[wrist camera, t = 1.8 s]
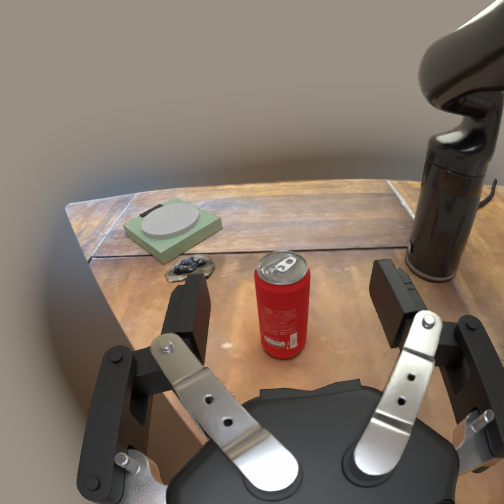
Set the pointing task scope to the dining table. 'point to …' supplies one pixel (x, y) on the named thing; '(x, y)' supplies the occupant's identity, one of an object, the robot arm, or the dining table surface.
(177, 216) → the scale
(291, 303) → the beverage can
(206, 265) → the geode
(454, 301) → the dining table surface
